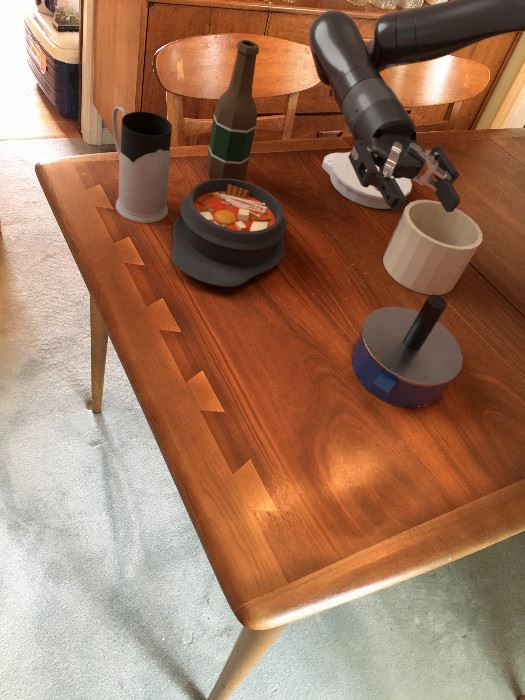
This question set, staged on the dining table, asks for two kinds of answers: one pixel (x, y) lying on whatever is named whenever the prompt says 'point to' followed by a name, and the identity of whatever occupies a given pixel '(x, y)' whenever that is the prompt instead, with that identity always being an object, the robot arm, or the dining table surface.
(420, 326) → the steel lid
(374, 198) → the lid
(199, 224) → the casserole
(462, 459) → the dining table surface
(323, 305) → the dining table surface
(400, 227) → the pot
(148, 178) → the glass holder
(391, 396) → the pan
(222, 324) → the dining table surface
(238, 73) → the beer bottle
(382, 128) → the robot arm
